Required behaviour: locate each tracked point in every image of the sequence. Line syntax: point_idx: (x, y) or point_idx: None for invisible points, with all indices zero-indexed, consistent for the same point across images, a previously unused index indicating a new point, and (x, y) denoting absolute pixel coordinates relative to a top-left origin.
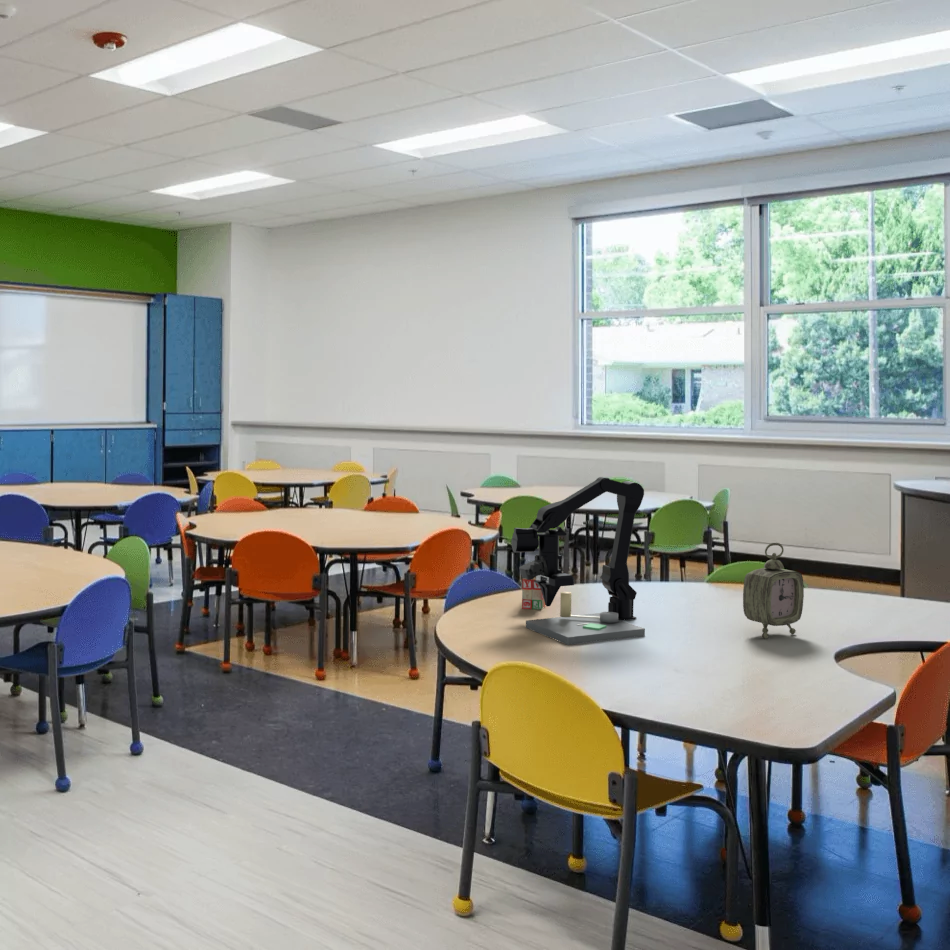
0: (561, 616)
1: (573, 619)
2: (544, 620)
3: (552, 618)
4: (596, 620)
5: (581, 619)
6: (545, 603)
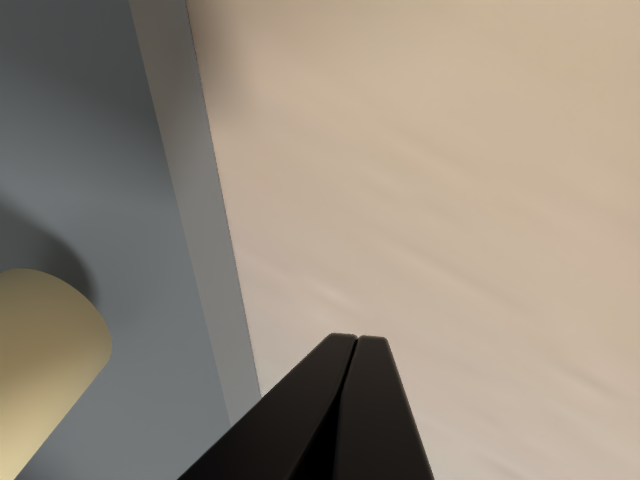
0: (16, 271)
1: None
2: (22, 19)
3: (141, 197)
4: None
5: None
6: (370, 359)
